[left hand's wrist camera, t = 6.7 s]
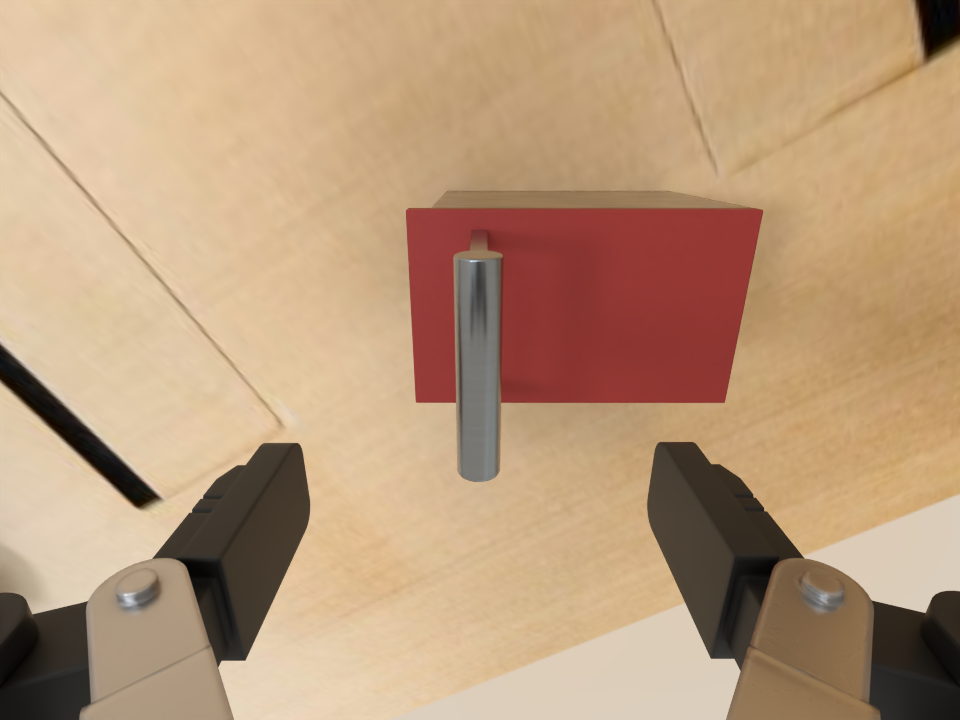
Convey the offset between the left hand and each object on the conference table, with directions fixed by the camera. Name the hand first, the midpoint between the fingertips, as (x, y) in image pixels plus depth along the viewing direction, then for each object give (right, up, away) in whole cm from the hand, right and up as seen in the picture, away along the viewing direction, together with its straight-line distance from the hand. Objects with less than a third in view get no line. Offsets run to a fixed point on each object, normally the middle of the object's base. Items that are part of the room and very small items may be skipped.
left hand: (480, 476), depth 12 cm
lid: (+4, +5, +13) cm, 14 cm away
